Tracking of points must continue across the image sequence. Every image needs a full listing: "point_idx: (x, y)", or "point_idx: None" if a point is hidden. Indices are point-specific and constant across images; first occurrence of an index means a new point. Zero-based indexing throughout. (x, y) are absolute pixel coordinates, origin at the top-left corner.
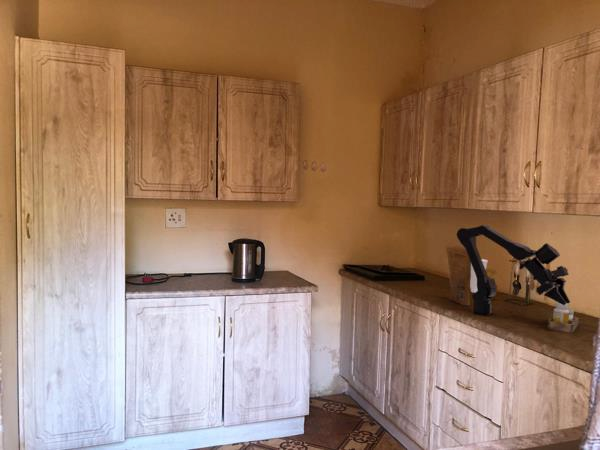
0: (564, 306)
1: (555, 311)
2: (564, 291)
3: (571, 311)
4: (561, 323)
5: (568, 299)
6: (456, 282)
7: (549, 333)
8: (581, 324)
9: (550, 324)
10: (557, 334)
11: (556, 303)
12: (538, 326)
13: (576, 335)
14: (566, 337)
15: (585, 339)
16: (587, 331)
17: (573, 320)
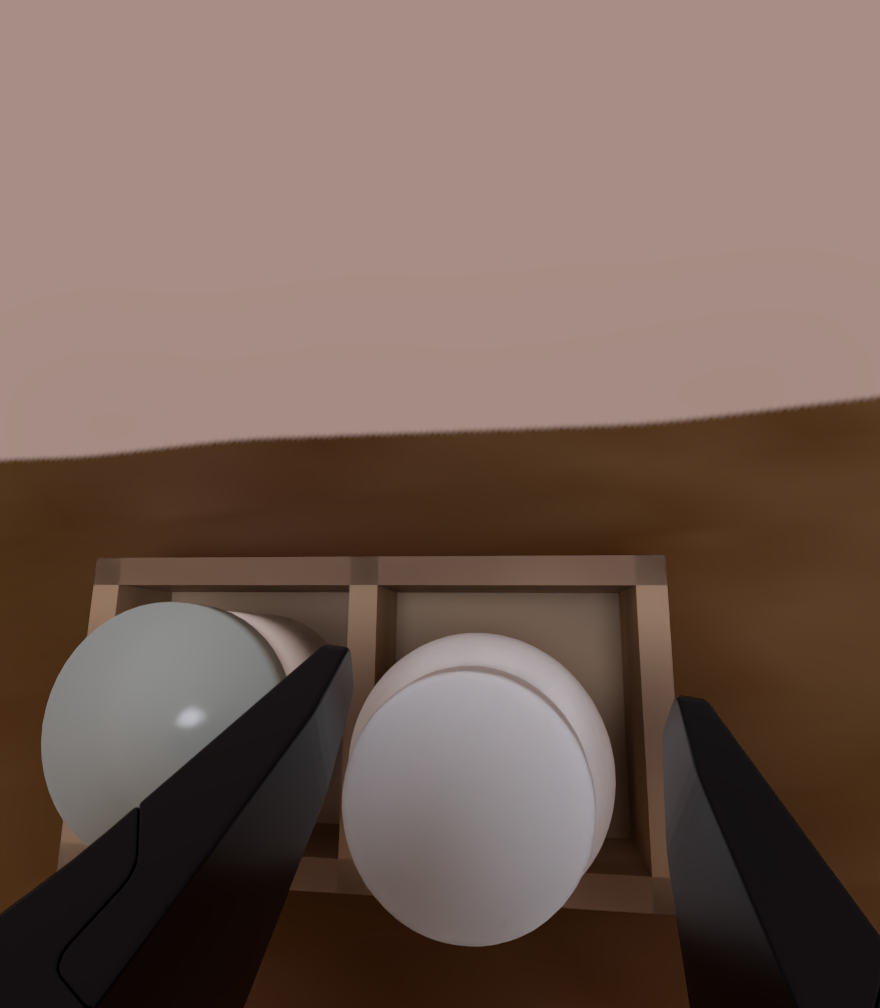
0: (571, 728)
1: (586, 869)
2: (71, 905)
3: (218, 628)
4: None
5: (321, 687)
6: None
7: (839, 809)
8: (49, 551)
9: None
10: (800, 715)
11: (508, 939)
12: (551, 994)
13: (648, 527)
14: (860, 605)
15: (759, 429)
16: (349, 460)
17: None
